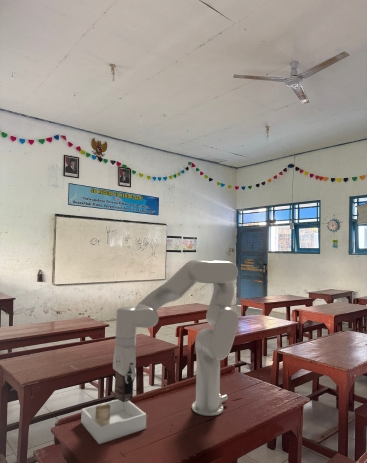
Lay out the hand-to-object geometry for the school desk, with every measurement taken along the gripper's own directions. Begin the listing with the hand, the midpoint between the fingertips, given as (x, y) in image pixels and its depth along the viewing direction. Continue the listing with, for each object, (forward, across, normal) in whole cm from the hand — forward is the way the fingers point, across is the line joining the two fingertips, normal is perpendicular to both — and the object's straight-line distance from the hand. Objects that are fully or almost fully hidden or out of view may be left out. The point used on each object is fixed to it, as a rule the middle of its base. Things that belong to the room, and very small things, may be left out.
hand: (123, 389), depth 126 cm
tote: (+12, 0, -4) cm, 12 cm away
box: (+3, 0, 0) cm, 3 cm away
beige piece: (+11, 0, -8) cm, 14 cm away
